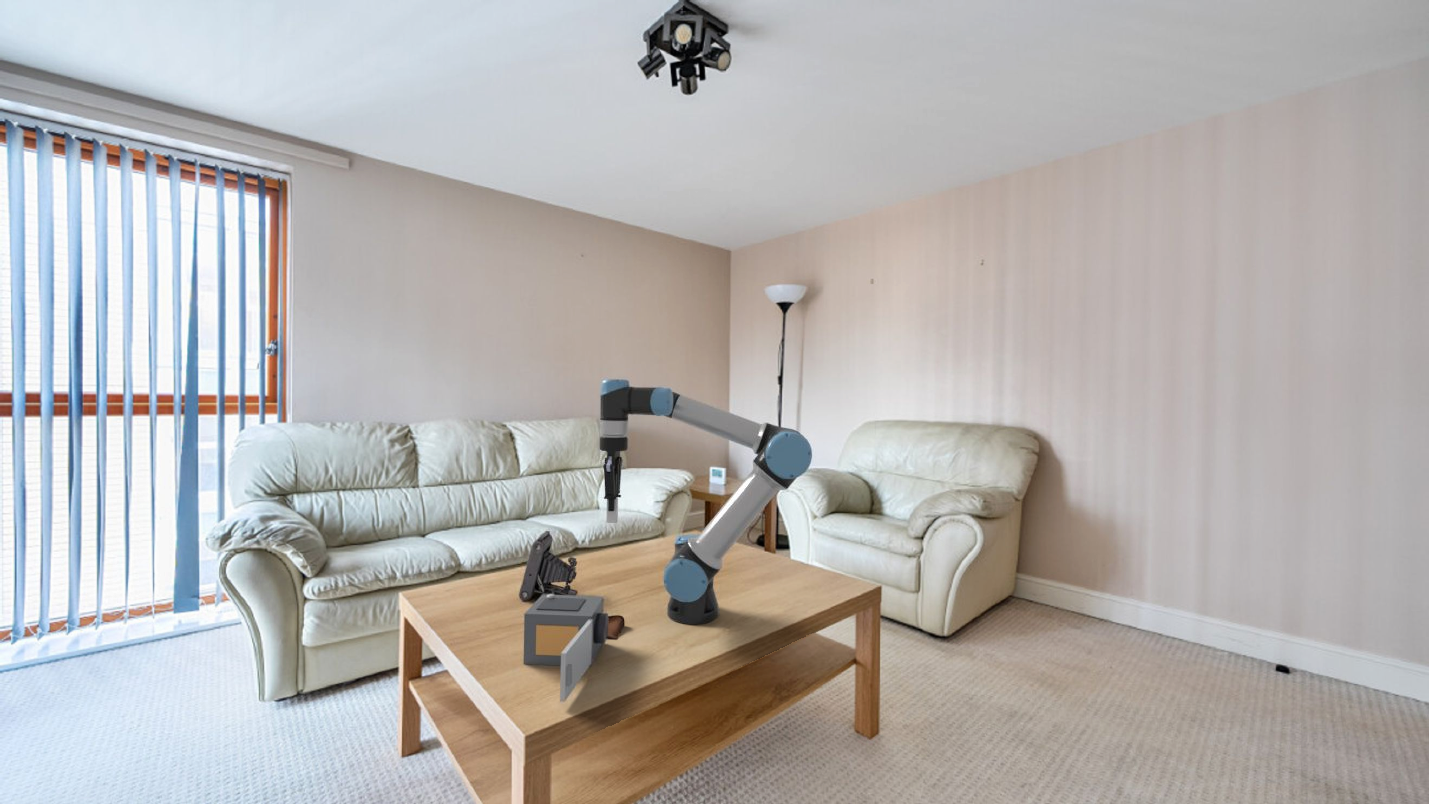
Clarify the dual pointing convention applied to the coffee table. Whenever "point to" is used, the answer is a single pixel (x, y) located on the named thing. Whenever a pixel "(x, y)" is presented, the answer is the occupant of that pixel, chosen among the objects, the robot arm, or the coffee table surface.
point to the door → (576, 659)
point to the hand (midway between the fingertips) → (612, 522)
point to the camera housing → (561, 626)
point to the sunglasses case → (615, 626)
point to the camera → (546, 571)
